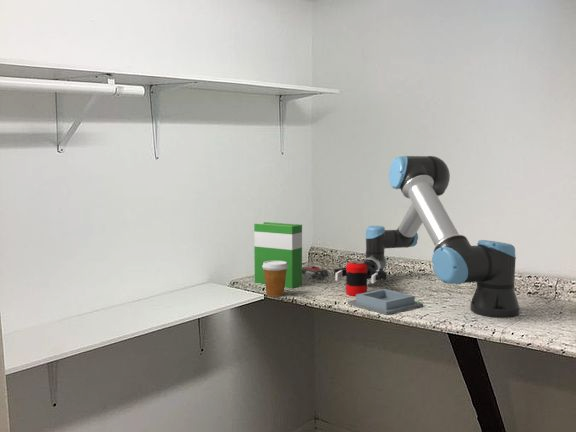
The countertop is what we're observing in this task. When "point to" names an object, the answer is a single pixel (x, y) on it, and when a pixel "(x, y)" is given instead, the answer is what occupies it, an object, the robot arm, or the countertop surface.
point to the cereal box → (279, 250)
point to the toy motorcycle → (315, 271)
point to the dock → (385, 301)
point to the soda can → (356, 278)
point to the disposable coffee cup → (275, 277)
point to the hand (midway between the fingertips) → (354, 278)
